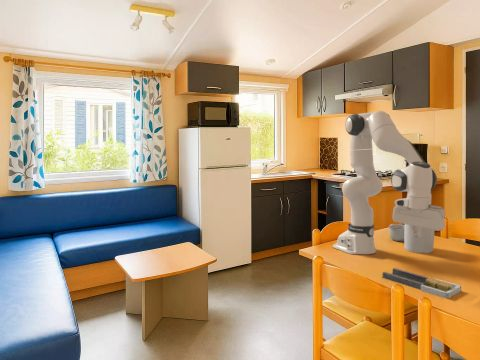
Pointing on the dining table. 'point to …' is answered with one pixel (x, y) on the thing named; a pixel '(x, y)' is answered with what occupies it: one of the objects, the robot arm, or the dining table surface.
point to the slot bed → (405, 278)
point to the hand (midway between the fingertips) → (416, 236)
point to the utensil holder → (418, 240)
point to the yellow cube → (444, 286)
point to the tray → (440, 293)
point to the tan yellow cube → (431, 282)
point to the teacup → (397, 232)
